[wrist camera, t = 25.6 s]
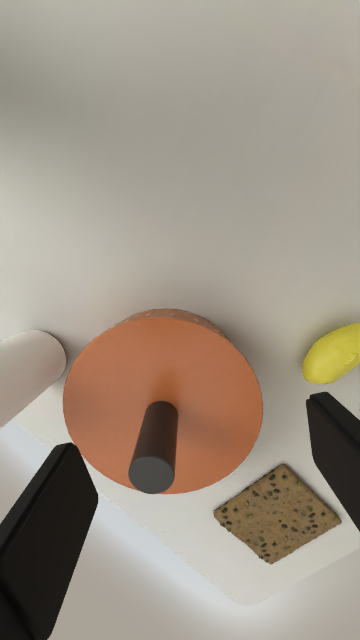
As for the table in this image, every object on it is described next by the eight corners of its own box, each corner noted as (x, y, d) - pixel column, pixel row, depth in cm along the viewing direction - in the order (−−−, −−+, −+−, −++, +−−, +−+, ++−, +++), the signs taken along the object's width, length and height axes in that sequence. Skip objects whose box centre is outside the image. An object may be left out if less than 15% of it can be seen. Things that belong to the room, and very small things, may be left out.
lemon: (369, 338, 24) (404, 352, 20) (304, 381, 25) (326, 402, 21) (348, 308, 23) (381, 316, 19) (283, 354, 24) (301, 370, 21)
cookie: (269, 562, 31) (272, 571, 30) (211, 512, 30) (212, 520, 29) (341, 518, 29) (346, 526, 28) (283, 462, 27) (286, 469, 26)
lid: (39, 341, 20) (-39, 381, 13) (238, 292, 18) (269, 306, 11) (104, 496, 24) (70, 591, 17) (273, 466, 22) (312, 556, 15)
